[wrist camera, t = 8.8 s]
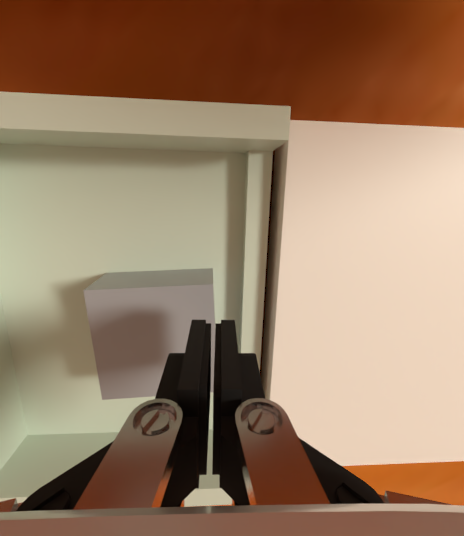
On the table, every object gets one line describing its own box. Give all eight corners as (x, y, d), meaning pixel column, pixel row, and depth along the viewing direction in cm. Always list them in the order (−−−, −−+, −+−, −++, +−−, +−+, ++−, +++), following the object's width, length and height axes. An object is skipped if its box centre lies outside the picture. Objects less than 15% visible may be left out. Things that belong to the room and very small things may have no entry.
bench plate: (275, 133, 16) (290, 119, 13) (542, 145, 17) (611, 134, 14) (257, 430, 21) (264, 468, 18) (463, 424, 22) (501, 459, 19)
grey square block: (106, 272, 16) (83, 290, 13) (212, 268, 16) (213, 284, 13) (120, 365, 18) (102, 399, 15) (217, 359, 18) (218, 392, 15)
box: (-43, 119, 15) (-169, 83, 10) (266, 133, 16) (291, 106, 11) (21, 437, 20) (-42, 517, 15) (250, 430, 21) (262, 503, 16)
